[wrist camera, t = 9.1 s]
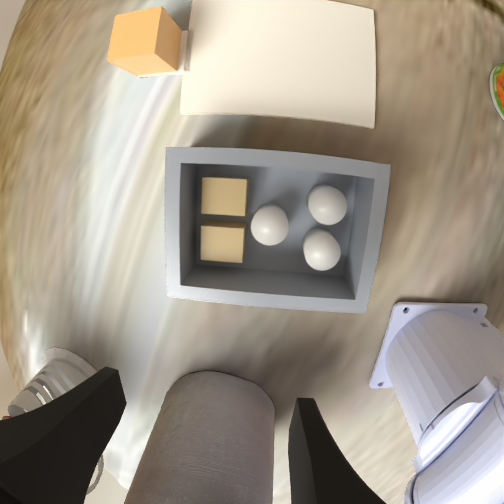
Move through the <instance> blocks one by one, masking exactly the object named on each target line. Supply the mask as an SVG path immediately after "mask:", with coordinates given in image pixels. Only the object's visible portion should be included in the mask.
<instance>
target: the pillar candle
mask: <svg viewBox="0 0 504 504" xmlns="http://www.w3.org/2000/svg"><path fill="white" fill-rule="evenodd" d="M274 422H275V410H274V406H273V403H272V400H271V399H270V397H269V395H268V394H267V393H266V392H265V391H264V390H263V389H262V388H261V387H260V386H258V385H257V384H255V383H253V382H250V381H247V380H244V379H241V378H238V377H235V376H232V375H228V374H225V373H221V372H215V371H202V372H196V373H192V374H188V375H186V376H184V377H182V378H180V379H179V380H178V381H176V382H175V383H174V385H173V386H172V387H171V389H170V390H169V391H168V392H167V393H166V396H165V399H164V402H163V404H162V407H161V410H160V413H159V415H158V417H157V420H156V422H155V425H154V427H153V430H152V432H151V435H150V437H149V440H148V442H147V445H146V448H145V450H144V453H143V455H142V458H141V460H140V463H139V465H138V468H137V471H136V473H135V476H134V478H133V481H132V484H131V486H130V489H129V491H128V494H127V497H126V499H125V502H124V504H272V500H273V468H274Z"/></svg>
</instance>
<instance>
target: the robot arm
mask: <svg viewBox="0 0 504 504" xmlns="http://www.w3.org/2000/svg"><path fill="white" fill-rule="evenodd" d="M406 307H408V308H407V310H406V311H403V310H404V309H405V308H406ZM475 308H476V309H475ZM474 309H475V310H474ZM487 309H488V308H487V305H485V304H483V303H419V302H398V303H396V304H395V305H394V306H393V309H392V313H391V316H390V320H389V323H388V327H387V330H386V333H385V336H384V340H383V343H382V346H381V349H380V352H379V355H378V358H377V361H376V364H375V366H374V369H373V372H372V375H371V377H370V380H369V386H370V388H394V390H395V393H396V395H397V397H398V400H399V402H400V405H401V407H402V410H403V412H404V415H405V417H406V420H407V422H408V425H409V428H410V430H411V433H412V436H413V438H414V441H415V444H416V446H417V449H418V454H417V455H416V457H415V458H414V459H413V460H412V462H413V465H414V468H415V471H416V474H415V475H414V476H413V477H412V478H411V480H410V481H409V483H408V485H407V487H406V490H405V496H404V504H504V335H503V334H502V333H501V332H500V331H499V330H498V329H497V328H496V327H495V326H494V325H493V324H492V323H491V322H489V321H488V320H487V319H486V318H485V315H486V312H487ZM380 382H381V383H380ZM378 383H379V384H378ZM125 406H126V399H125V396H124V392H123V388H122V384H121V380H120V376H119V372H118V370H116V369H112V368H109V367H104V368H103V369H101V370H100V371H98V372H97V373H95V374H94V375H92V376H91V377H89V378H88V379H86V380H85V381H83V382H82V383H80V384H79V385H77V386H76V387H74V388H73V389H71V390H69V391H68V392H66V393H64V394H63V395H61V396H59V397H58V398H56V399H54V400H52V401H51V402H49V403H47V404H45V405H43V406H41V407H38V408H36V409H34V410H32V411H29V412H26V413H23V414H21V415H17V416H14V417H11V418H8V419H4V420H0V504H84V500H85V496H86V493H87V490H88V487H89V484H90V481H91V478H92V475H93V473H94V470H95V467H96V465H97V463H98V461H99V459H100V457H101V455H102V453H103V451H104V450H105V448H106V446H107V444H108V442H109V441H110V439H111V437H112V435H113V433H114V431H115V430H116V428H117V426H118V424H119V422H120V420H121V417H122V414H123V412H124V409H125ZM288 457H289V471H290V485H291V504H386V503H385V502H384V501H383V500H382V499H381V498H380V497H379V496H378V495H376V494H375V493H374V492H373V491H372V490H371V489H370V488H369V487H368V486H367V485H366V483H365V482H364V481H363V480H362V479H361V478H360V477H359V475H358V474H357V473H356V472H355V470H354V469H353V468H352V467H351V465H350V464H349V462H348V461H347V460H346V458H345V457H344V455H343V454H342V452H341V451H340V449H339V447H338V446H337V444H336V442H335V441H334V439H333V437H332V435H331V434H330V432H329V430H328V428H327V426H326V424H325V422H324V420H323V418H322V416H321V414H320V411H319V409H318V407H317V404H316V401H315V400H314V399H313V398H297V400H296V404H295V408H294V412H293V416H292V420H291V424H290V428H289V442H288Z"/></svg>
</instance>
